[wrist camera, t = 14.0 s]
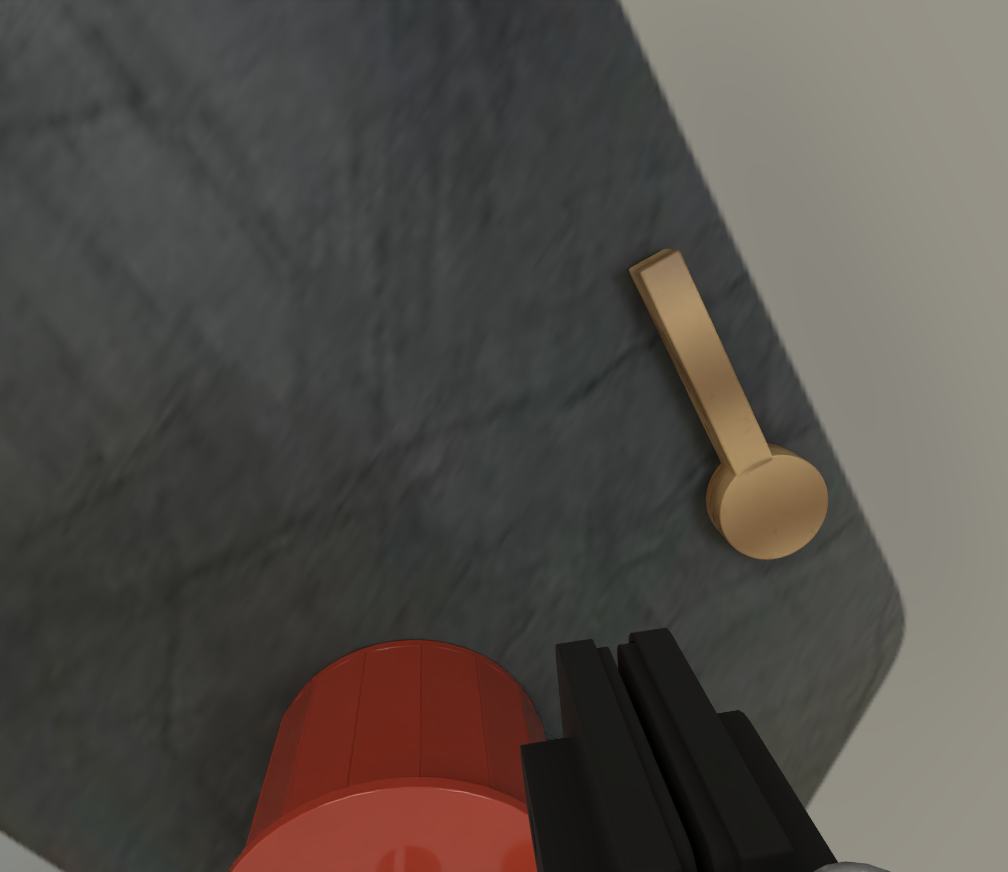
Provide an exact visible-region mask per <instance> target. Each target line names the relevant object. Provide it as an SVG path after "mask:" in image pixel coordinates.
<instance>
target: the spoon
mask: <svg viewBox="0 0 1008 872" xmlns="http://www.w3.org/2000/svg"><path fill="white" fill-rule="evenodd" d="M629 272H630V274H631V276H632V278H633V280H634V282H635V284H636V287H637V289H638V291H639V293H640V295H641V297H642V299H643V301H644V303H645V305H646V307H647V309H648V312H649V314H650V316H651V318H652V320H653V322H654V324H655V326H656V328H657V330H658V332H659V334H660V337H661V339H662V341H663V343H664V345H665V347H666V349H667V351H668V353H669V355H670V357H671V359H672V362H673V364H674V366H675V368H676V370H677V372H678V374H679V376H680V378H681V380H682V382H683V384H684V387H685V389H686V391H687V393H688V395H689V397H690V399H691V401H692V403H693V405H694V407H695V409H696V412H697V414H698V416H699V418H700V420H701V422H702V424H703V426H704V428H705V430H706V432H707V434H708V437H709V439H710V441H711V443H712V445H713V447H714V449H715V451H716V453H717V455H718V457H719V459H720V462H721V464H720V465H719V466H718V467H717V469H716V470H715V472H714V473H713V475H712V477H711V479H710V481H709V484H708V487H707V493H706V508H707V513H708V516H709V518H710V520H711V522H712V524H713V525H714V527H715V528H716V529H717V530H718V531H719V533H720V534H721V535H722V536H723V537H724V538H725V539H726V540H727V541H728V542H729V543H730V544H731V546H733V547H734V548H735V549H736V550H737V551H739V552H740V553H742V554H744V555H746V556H749V557H752V558H757V559H776V558H781V557H784V556H787V555H790V554H792V553H794V552H796V551H797V550H799V549H801V548H802V547H803V546H805V545H806V544H807V543H808V542H809V541H810V540H811V539H812V538H813V537H814V536H815V535H816V533H817V532H818V530H819V529H820V527H821V525H822V523H823V521H824V519H825V516H826V512H827V508H828V492H827V487H826V484H825V481H824V479H823V478H822V476H821V474H820V473H819V471H818V470H817V469H816V468H815V467H814V466H813V465H811V464H810V463H809V462H807V461H806V460H804V459H803V458H801V457H800V456H798V455H797V454H795V453H794V452H792V451H790V450H789V449H787V448H785V447H782V446H780V445H776V444H770V443H767V442H766V440H765V438H764V436H763V433H762V431H761V429H760V427H759V425H758V422H757V420H756V418H755V416H754V414H753V411H752V409H751V407H750V405H749V403H748V400H747V398H746V396H745V394H744V392H743V389H742V387H741V385H740V383H739V381H738V378H737V376H736V374H735V372H734V369H733V367H732V365H731V363H730V361H729V358H728V356H727V354H726V352H725V350H724V347H723V345H722V343H721V341H720V339H719V336H718V334H717V332H716V330H715V328H714V325H713V323H712V321H711V319H710V317H709V314H708V312H707V310H706V308H705V306H704V303H703V301H702V299H701V297H700V295H699V292H698V290H697V288H696V286H695V284H694V281H693V279H692V277H691V275H690V272H689V270H688V268H687V266H686V264H685V261H684V259H683V257H682V255H681V253H680V251H679V250H672V249H663V250H661V251H659V252H658V253H656V254H654V255H652V256H651V257H649V258H647V259H645V260H643V261H642V262H640V263H638V264H636V265H635V266H633V267H631V268H630V269H629Z"/></svg>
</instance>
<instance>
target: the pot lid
mask: <svg viewBox="0 0 1008 872" xmlns="http://www.w3.org/2000/svg"><path fill="white" fill-rule="evenodd" d="M228 872H537V867H536V861H535V856H534V850H533V844H532V837H531V831H530V824H529V817H528V811H527V804H525V803H523V802H521V801H519V800H517V799H515V798H514V797H512V796H510V795H507V794H505V793H502V792H499V791H497V790H494V789H491V788H489V787H486V786H482V785H478V784H474V783H470V782H466V781H462V780H454V779H447V778H439V777H398V778H386V779H379V780H374V781H369V782H363V783H358V784H354V785H351V786H347V787H344V788H341V789H338V790H335V791H332V792H328V793H326V794H324V795H322V796H319V797H317V798H315V799H313V800H310V801H308V802H306V803H304V804H302V805H300V806H298V807H297V808H295V809H293V810H292V811H290V812H288V813H287V814H285V815H283V816H281V817H280V818H279V819H278V820H276V821H275V822H274V823H272V824H271V825H270V826H268V827H267V828H266V829H264V830H263V831H262V832H261V833H260V834H259V835H258V836H257V837H256V838H255V839H254V840H253V841H252V842H251V843H250V844H249V845H248V846H247V847H246V848H245V849H244V850H243V851H242V852H241V854H240V855H239V856H238V858H237V859H236V860H235V861H234V863H233V864H232V865H231V867H230V868H229V870H228Z"/></svg>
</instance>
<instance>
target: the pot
mask: <svg viewBox="0 0 1008 872" xmlns="http://www.w3.org/2000/svg"><path fill="white" fill-rule="evenodd" d="M543 741H546V737H545V732H544V728H543V724H542V722H541V721H540V719H539V717H538V715H537V712H536V710H535V708H534V706H533V704H532V702H531V700H530V698H529V696H528V695H527V694H526V692H525V691H524V689H523V688H522V687H521V685H520V684H519V683H518V682H517V681H516V680H515V679H514V678H513V677H512V676H511V675H510V674H509V673H508V672H507V671H505V670H504V669H503V668H502V667H500V666H499V665H498V664H496V663H495V662H493V661H491V660H490V659H488V658H486V657H485V656H483V655H481V654H479V653H476V652H474V651H471V650H469V649H467V648H464V647H460V646H457V645H453V644H450V643H444V642H438V641H431V640H402V641H392V642H387V643H381V644H376V645H373V646H370V647H367V648H363V649H360V650H358V651H355V652H353V653H351V654H349V655H346V656H344V657H342V658H340V659H339V660H337V661H335V662H334V663H332V664H330V665H329V666H327V667H326V668H324V669H323V670H322V671H321V672H319V673H318V674H317V675H315V676H314V677H313V678H312V679H311V680H310V681H309V682H308V683H307V684H306V685H305V686H304V687H303V688H302V689H301V690H300V692H299V693H298V694H297V696H296V697H295V698H294V700H293V701H292V702H291V704H290V706H289V708H288V710H287V712H286V713H285V714H284V715H283V717H282V720H281V723H280V727H279V730H278V734H277V737H276V741H275V744H274V748H273V751H272V755H271V758H270V762H269V765H268V769H267V772H266V776H265V779H264V783H263V786H262V790H261V794H260V797H259V801H258V804H257V808H256V811H255V815H254V818H253V822H252V825H251V829H250V832H249V836H248V839H247V843H246V846H245V848H246V847H247V846H248V845H249V844H250V843H251V842H252V841H253V840H254V839H255V838H256V837H257V836H258V835H259V834H260V833H261V832H262V831H263V830H264V829H266V828H267V827H268V826H270V825H271V824H272V823H274V822H275V821H276V820H278V819H279V818H280V817H281V816H283V815H285V814H287V813H288V812H290V811H292V810H293V809H295V808H297V807H298V806H300V805H302V804H304V803H306V802H308V801H310V800H313V799H315V798H317V797H319V796H322V795H324V794H326V793H328V792H332V791H335V790H338V789H341V788H344V787H347V786H351V785H354V784H358V783H363V782H369V781H374V780H379V779H386V778H398V777H439V778H447V779H454V780H462V781H466V782H470V783H474V784H478V785H482V786H486V787H489V788H491V789H494V790H497V791H499V792H502V793H505V794H507V795H510V796H512V797H514V798H515V799H517V800H519V801H521V802H523V803H525V804H527V803H526V796H525V788H524V779H523V771H522V762H521V752H520V745H524V744H530V743H536V742H543Z"/></svg>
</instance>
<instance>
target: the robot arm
mask: <svg viewBox="0 0 1008 872" xmlns="http://www.w3.org/2000/svg"><path fill="white" fill-rule="evenodd" d="M617 656H618V668H617V666H616V664H615V661H614V659H613V656H612V654H611V652H610V649H609V648H608V647H602V648H596V646H595V643H594V641H593V640H592V639H588V640H581V641H575V642H568V643H561V644H556V662H557V673H558V684H559V695H560V705H561V716H562V727H563V738H561V739H555V740H549V741H543V742H536V743H530V744H524V745H520V752H521V762H522V771H523V779H524V788H525V796H526V803H527V811H528V817H529V824H530V831H531V837H532V844H533V850H534V856H535V861H536V867H537V872H890V871H887V870H884V869H881V868H878V867H875V866H872V865H869V864H863V863H854V862H840V863H838V861H837V860H836V858H835V857H834V855H833V853H832V852H831V850H830V849H829V847H828V845H827V844H826V842H825V841H824V839H823V837H822V836H821V834H820V833H819V831H818V829H817V828H816V826H815V825H814V823H813V822H812V820H811V818H810V817H809V815H808V813H807V812H806V810H805V809H804V807H803V805H802V804H801V802H800V801H799V799H798V797H797V796H796V794H795V793H794V791H793V789H792V788H791V786H790V785H789V783H788V781H787V780H786V778H785V776H784V775H783V773H782V772H781V770H780V768H779V767H778V765H777V764H776V762H775V760H774V759H773V757H772V756H771V754H770V752H769V751H768V749H767V748H766V746H765V744H764V743H763V741H762V740H761V738H760V736H759V735H758V733H757V732H756V730H755V728H754V727H753V725H752V724H751V722H750V720H749V719H748V718H747V717H746V715H745V714H744V713H743V712H741V711H739V710H736V711H730V712H724V713H718V714H717V713H716V711H715V710H714V708H713V706H712V704H711V703H710V701H709V699H708V697H707V696H706V694H705V692H704V690H703V688H702V687H701V685H700V683H699V681H698V680H697V678H696V676H695V674H694V673H693V671H692V669H691V667H690V666H689V664H688V662H687V660H686V659H685V657H684V655H683V653H682V652H681V650H680V648H679V646H678V645H677V643H676V641H675V639H674V638H673V636H672V634H671V632H670V631H669V630H668V629H667V628H661V629H654V630H648V631H641V632H634V633H630V635H629V644H622V645H618V649H617Z"/></svg>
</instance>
